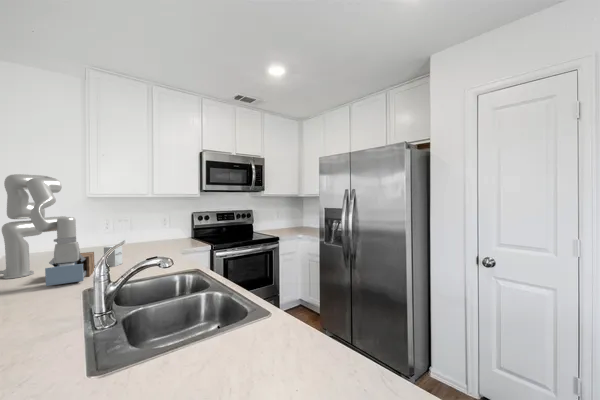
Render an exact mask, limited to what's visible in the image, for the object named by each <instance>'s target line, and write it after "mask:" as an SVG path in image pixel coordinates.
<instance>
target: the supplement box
mask: <svg viewBox="0 0 600 400" xmlns="http://www.w3.org/2000/svg"><path fill="white" fill-rule="evenodd" d="M115 245H116V244H115ZM115 245H107V246H105V247H103V255H104V254H105V253H106V252H107V251H108V250H109V249H110V248H112V247H113V246H115ZM107 264H108V265H109V266H110V267H112V268H114V267H117V266H121V265H122V264H123V245H122V246H120V247H118V248H116V249H115V250H114V251H113V252H112V253H111V254H110V255H109V256H108V258H107Z"/></svg>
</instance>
